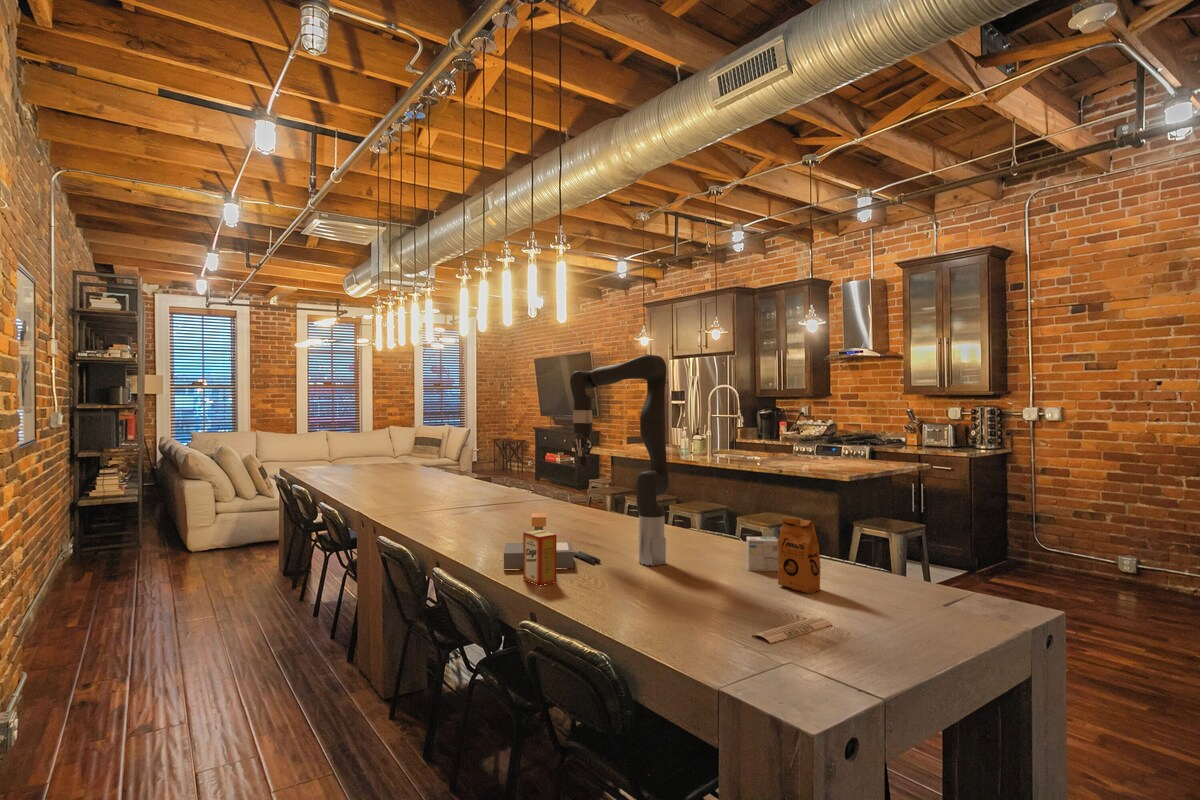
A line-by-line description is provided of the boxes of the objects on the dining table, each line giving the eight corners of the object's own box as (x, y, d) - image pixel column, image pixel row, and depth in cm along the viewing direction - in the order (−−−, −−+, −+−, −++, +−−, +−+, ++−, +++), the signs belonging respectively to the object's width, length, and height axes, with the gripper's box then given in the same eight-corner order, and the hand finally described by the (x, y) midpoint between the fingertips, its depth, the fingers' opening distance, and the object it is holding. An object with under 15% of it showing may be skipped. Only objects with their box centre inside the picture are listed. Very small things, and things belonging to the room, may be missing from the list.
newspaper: (813, 621, 173) (813, 614, 173) (835, 629, 167) (835, 622, 167) (751, 639, 160) (751, 632, 160) (773, 648, 154) (773, 641, 154)
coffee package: (806, 596, 193) (806, 523, 193) (773, 586, 203) (773, 517, 203) (826, 590, 199) (826, 519, 199) (793, 581, 209) (793, 513, 209)
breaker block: (506, 559, 237) (506, 534, 237) (571, 557, 239) (571, 533, 239) (503, 570, 221) (503, 544, 221) (573, 569, 223) (573, 543, 223)
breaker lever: (531, 541, 231) (531, 513, 225) (545, 541, 231) (546, 512, 225) (531, 546, 228) (531, 517, 223) (545, 546, 229) (546, 517, 223)
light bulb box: (776, 566, 227) (776, 536, 227) (779, 571, 220) (779, 540, 220) (745, 566, 228) (745, 535, 228) (748, 571, 221) (748, 539, 221)
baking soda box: (556, 582, 207) (556, 533, 207) (539, 586, 202) (539, 535, 202) (539, 576, 214) (540, 528, 214) (523, 579, 210) (523, 531, 210)
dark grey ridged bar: (601, 563, 231) (601, 559, 231) (592, 564, 229) (592, 560, 229) (580, 554, 244) (580, 550, 244) (571, 555, 242) (571, 551, 242)
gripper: (566, 421, 255) (566, 464, 255) (582, 422, 244) (582, 468, 244) (582, 421, 259) (582, 463, 259) (599, 422, 248) (599, 466, 248)
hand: (582, 465), depth 252 cm, fingers closed
